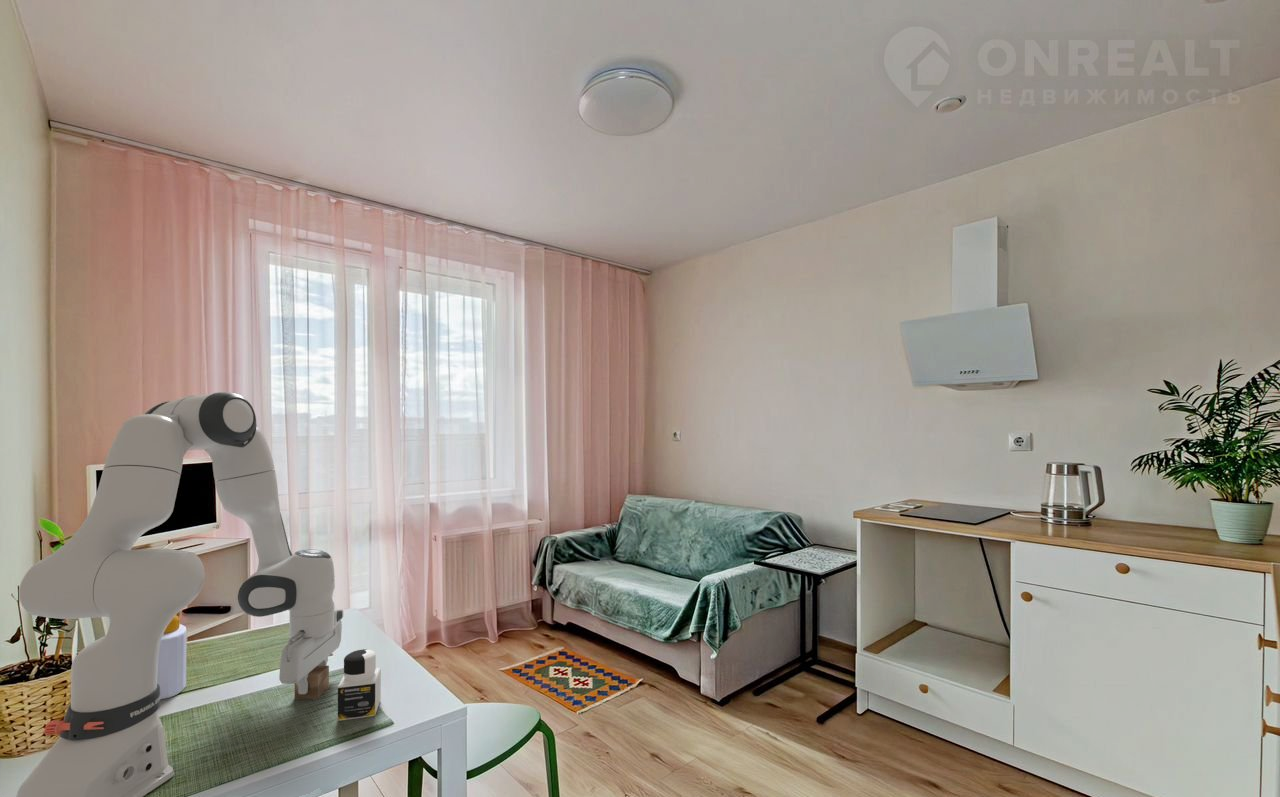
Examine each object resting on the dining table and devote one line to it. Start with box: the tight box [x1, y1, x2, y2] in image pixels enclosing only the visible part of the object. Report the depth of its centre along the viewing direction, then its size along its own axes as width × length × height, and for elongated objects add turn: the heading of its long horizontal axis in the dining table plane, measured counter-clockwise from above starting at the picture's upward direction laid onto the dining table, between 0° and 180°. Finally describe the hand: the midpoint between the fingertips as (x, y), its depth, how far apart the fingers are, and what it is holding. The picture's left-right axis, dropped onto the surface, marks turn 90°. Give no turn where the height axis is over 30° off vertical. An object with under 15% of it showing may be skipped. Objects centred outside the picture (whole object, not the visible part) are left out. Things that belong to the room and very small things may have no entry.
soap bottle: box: [157, 614, 188, 701], centre depth 133 cm, size 13×8×20 cm, turn 46°
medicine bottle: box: [337, 648, 382, 722], centre depth 123 cm, size 7×7×12 cm
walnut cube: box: [294, 665, 330, 700], centre depth 131 cm, size 5×5×5 cm
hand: (311, 685), depth 131 cm, fingers open, 5 cm apart
